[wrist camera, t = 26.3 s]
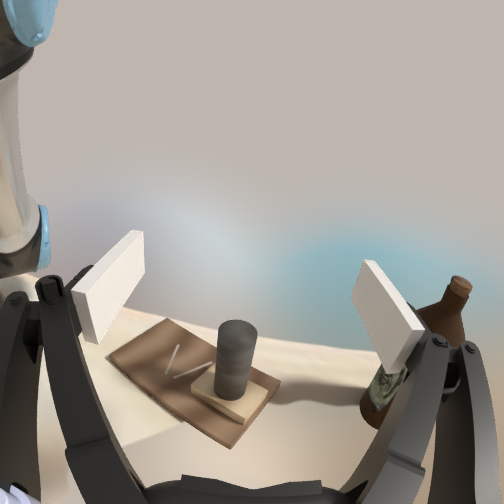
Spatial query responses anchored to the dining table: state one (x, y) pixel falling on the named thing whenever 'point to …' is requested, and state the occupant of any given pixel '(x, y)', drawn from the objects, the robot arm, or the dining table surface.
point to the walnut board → (184, 377)
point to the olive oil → (385, 385)
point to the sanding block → (232, 373)
